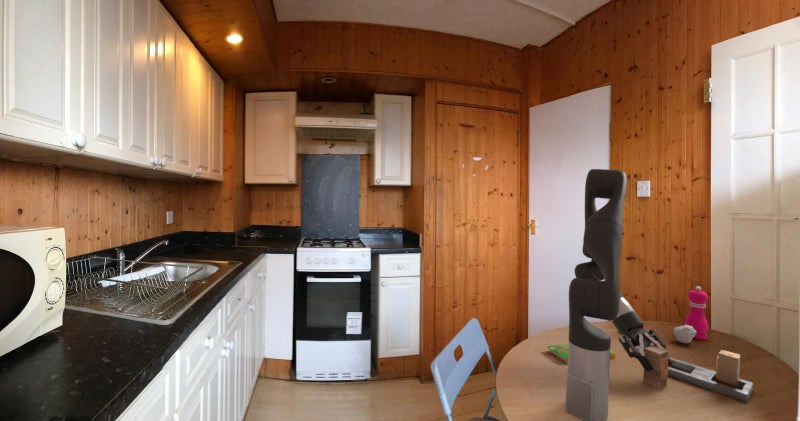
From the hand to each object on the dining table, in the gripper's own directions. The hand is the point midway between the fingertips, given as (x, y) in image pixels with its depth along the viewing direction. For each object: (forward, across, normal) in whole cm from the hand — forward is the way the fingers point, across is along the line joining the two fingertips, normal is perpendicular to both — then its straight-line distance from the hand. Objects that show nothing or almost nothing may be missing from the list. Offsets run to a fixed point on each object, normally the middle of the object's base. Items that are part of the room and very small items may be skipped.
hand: (660, 368), depth 99 cm
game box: (-12, -5, +20) cm, 24 cm away
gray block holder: (+6, +16, +2) cm, 17 cm away
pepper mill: (-9, +54, +16) cm, 57 cm away
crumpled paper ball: (-7, +42, +15) cm, 45 cm away
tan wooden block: (+3, 0, +5) cm, 5 cm away
